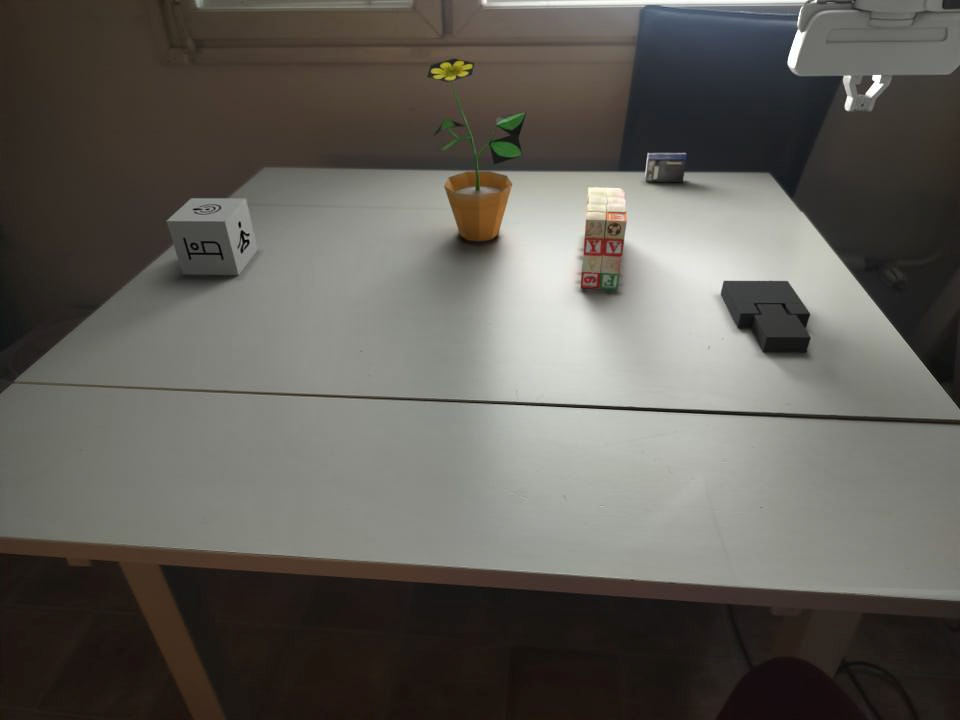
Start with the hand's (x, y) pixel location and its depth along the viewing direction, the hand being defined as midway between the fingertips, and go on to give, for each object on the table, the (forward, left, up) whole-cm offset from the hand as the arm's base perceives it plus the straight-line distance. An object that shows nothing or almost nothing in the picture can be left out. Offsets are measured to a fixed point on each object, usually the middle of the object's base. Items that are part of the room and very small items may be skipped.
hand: (857, 110), depth 88 cm
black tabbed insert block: (+7, +10, -29) cm, 32 cm away
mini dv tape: (+12, -53, -29) cm, 62 cm away
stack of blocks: (+30, -14, -29) cm, 44 cm away
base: (+7, +3, -29) cm, 30 cm away
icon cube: (+98, -13, -29) cm, 103 cm away
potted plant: (+52, -25, -29) cm, 65 cm away
